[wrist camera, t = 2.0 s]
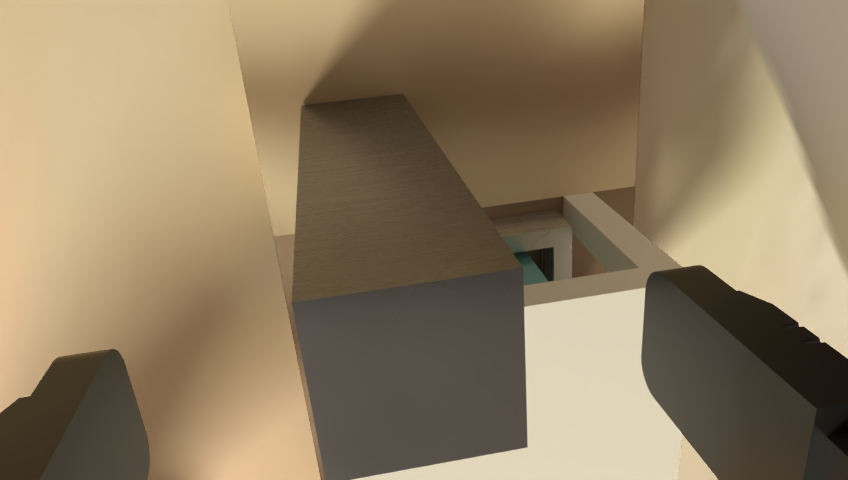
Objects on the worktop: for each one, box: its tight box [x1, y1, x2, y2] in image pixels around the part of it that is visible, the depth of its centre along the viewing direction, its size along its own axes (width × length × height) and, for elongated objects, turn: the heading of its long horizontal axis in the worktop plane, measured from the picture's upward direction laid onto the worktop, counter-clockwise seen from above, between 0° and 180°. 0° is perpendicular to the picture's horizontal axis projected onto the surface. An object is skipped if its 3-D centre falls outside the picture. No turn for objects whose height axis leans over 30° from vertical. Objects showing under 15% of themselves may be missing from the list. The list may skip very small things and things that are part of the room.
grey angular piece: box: [292, 94, 572, 480], centre depth 16 cm, size 11×8×12 cm
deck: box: [228, 0, 644, 480], centre depth 23 cm, size 22×12×2 cm, turn 5°
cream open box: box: [352, 192, 683, 480], centre depth 20 cm, size 7×9×6 cm
